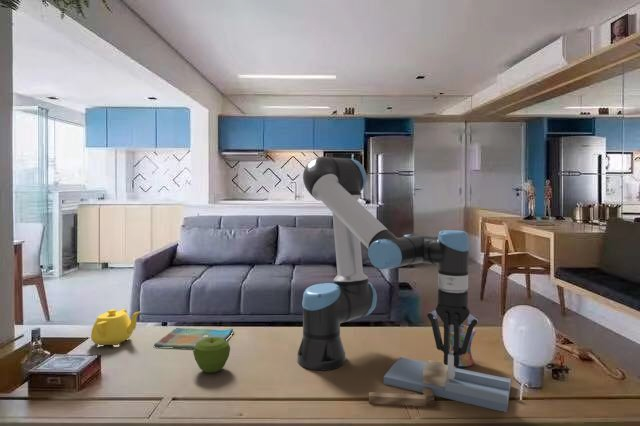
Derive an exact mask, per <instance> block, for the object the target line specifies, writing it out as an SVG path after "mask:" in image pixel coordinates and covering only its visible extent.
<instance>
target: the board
mask: <svg viewBox="0 0 640 426" xmlns="http://www.w3.org/2000/svg"><path fill="white" fill-rule="evenodd" d="M426 363H427V362H426V361H422V360H417V359H412V358H407V357H401V356H399V358H398V359H397V360H396V361H395V362H394V364H393V365H392V366H391V367H390V368H389V369H388V371H386V373H385V375H384V376H383V384H384V385H388V386H393V387H396V388H401V389H405V390H410V391H414V392H418V393H422V394H423V388H431V390H432V393H433V396H434V397H439V398H440V397H441V398H444V399H448V400H452V401H457V402H459V403H464V404H469V405H473V406H477V407H481V408H486V409H490V410H494V411H499V412H502V411H504V412H503V413H506V412H507V413H508V406H509V401H510V393H511V387H512V378H508V377H504V376H503V377H502V376H497V375H492V374H488V373H482V372H478V371H472V370H466V369H462V368H458V367H455V377H454V379H453V380H451V379H450V381H449V382H445V387H441V386H436V385H432V384H427V383H423V368H424V366H425V365H426Z"/></svg>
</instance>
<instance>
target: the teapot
mask: <svg viewBox="0 0 640 426" xmlns="http://www.w3.org/2000/svg"><path fill="white" fill-rule="evenodd" d="M140 313H142V311H136V312H134V313H133V314H132V316H131V318H130V316H129V314H128V313H127V309H125V308H122V309H120V310H118V311H117V309H114V308H113V309H108V310H107V312H103V313H102V314H100V315H98V317H97V318H96V320H95V322H94V323H93V326H92V328H91V334H90V339H91V341H92V342H93V343H94V344H95V345H98V344H99V345H104V346H105V345H106V346H107V345H112V346H113V345H118V344H120V345H121V343H123V342H126V341H125V340H127V339H129V338H131V336H132V335H133V332H134V330H135V329H136V327H137V317H138V315H139V314H140Z"/></svg>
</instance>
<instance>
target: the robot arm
mask: <svg viewBox="0 0 640 426" xmlns="http://www.w3.org/2000/svg"><path fill="white" fill-rule="evenodd" d="M302 175H303V176H302V180H303V185H304V187H305V189H306V191H307V192H308V193H309V194H310V196H312V198H313V199H315V200H316V201H320V202H322V203H323V205H325V206H326V207H327V209H329V211H330V212H331V213H332V223H333V233H334V234H333V235H334V246H335V258H336V271H337V273H336V276H335V277H334V278H333V282H332V283H331V282H323V283H317V284H313V285H311V286H308V287H307V288H306V289H305V290H304V291H303V294H302V304H301V305H302V338H301V341H300V344H299V348H298V351H297V364H299V365H300V366H301V367H303V368H306V369H308V370H313V371H328V370H333V369H339V368H340V367H341V366H343V365H345V363H346V350H345V348H344V344H343V342H342V339H341V324H342V323H346V322H350V321H353V320H356V319H362V318H364V317H366V316H369V315H370V314H372V313H373V311H374V310H375V308H376V306H377V303H378V302H377V300H378V295H377V291H376V288H375V287H374V285H373V284H372V282H369V276H368V275H366V274H365V273H364V270H363V269H364V268H363V258H362V256H363V255H362V246H361V245H362V244H363V246H364V247H365V248H366V249H368V251H367V253H368V259H369V260H370V261H369V262H370V263H371V265H372V266H373V267H374V268H376V269H379V270H391V269H392V270H393V269H395V268H398V267H404V266H410V265H416V264H421V263H422V264H423V263H424V264H432V265H437V268H438V269H437V287H438V288H439V289H438V290H437V306H436V307H435V309H434V310H432V311H429V312H428V313H427V314H426V316H427V318H428V320H429V322H430V324H431V327H432V333H433V338H434V342H435V346H436V349H437V350H438V351H442V353H443V363H444V365H448V379H451V380H453V379H454V377H455V368H458V367H459V366H458V365H459V363H460V354H465V353H466V351H467V348H468V345H469V342H470V338H471V335H472V331H473V328H474V329H475V327H476V325H477V324H478V323H479V318H478V317H475V316H473V315H472V314H471V312H470V310H469V307H468V306H469V305H468V303H469V292H468V289H469V256H470V255H469V254H470V253H469V252H470V245H469V244H470V243H469V241H470V240H469V234H468V233H467V232H466V231H464V230H458V229H457V230H456V229H455V230H453V229H451V230H450V229H446V230H445V229H444V230H440V231H439V232H438V236H432V235H421V234H416V233H415V234H413V233H411V234H410V233H409V234H404V235H403V236H402V237H397V236H396V235H394V233H393V232H391V231H390V230H389V229H388V228H387V227H386V226H385V225H384V224H383V223H382V222H381V221H380V220H379V219H377V218H376V217H375V215H373V214H372V212H370V211H369V210H368V209H367V208H366V207H365V206H363V204H361V202H359V199H361V197H362V194H361V192H362V191H363V190H364V188H365V185H366V184H367V172H366V170H365V167H364V166H363V164H362V163H361V162H359V161H358V160H356V159H352V158H349V157H331V156H329V157H328V156H318V157H314V158H313V159H312V160H310V161H309V162H308V163H307V164H306V166H305V168H304V170H303V173H302ZM438 318H440V320H441V322H442V323H443V340H442V334H441V329H440V325H439V320H438ZM466 320H467V324H468V325H467V326H468V329H467V332H466V335H465V339H464V342H463V346H462V348H460V327H461V325H463V323H464V322H465V321H466ZM451 325H454V352H453V351H450V326H451Z"/></svg>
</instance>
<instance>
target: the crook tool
mask: <svg viewBox="0 0 640 426" xmlns="http://www.w3.org/2000/svg"><path fill="white" fill-rule="evenodd" d="M368 402H369V403H368V404H376V405H377V404H379V405H393V406H409V405H413V406H412V407H425V408H435V406H436V405H435V404H436V403H435V402H436V401H435V396H434V395H433V393H432V390H431V388H423V393H422V394H410V393H396V392H395V393H392V392H374V391H373V392H371V391H368Z"/></svg>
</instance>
